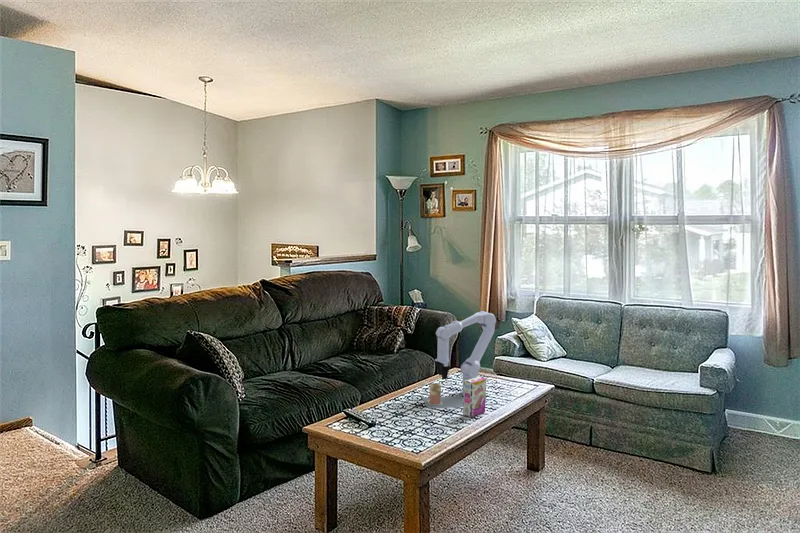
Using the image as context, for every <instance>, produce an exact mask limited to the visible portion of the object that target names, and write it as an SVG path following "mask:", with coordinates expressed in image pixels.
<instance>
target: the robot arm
mask: <svg viewBox="0 0 800 533" xmlns="http://www.w3.org/2000/svg"><path fill="white" fill-rule="evenodd" d="M476 323H478V324H480V325H481V329H482V332H481V335H480V336H479V338H478V341H477V343H476V344H475V346H474V348H473V350H472V353H471V355H469V356H470V357H468V358H466V360H465V361H464V362H463V363H462V364H461V365H460V372H461V374H462V390H460V391H459V392H460V393H461V395H462V396H463V397H464V381H465V380H469V379H472V378H476V377H479V373H480V368H481V363H480V362H481V360H482V359H483V358H482V357H483V356H484V354H485V352H486V350H487V348H488V346H489V343H490V342H491V341H492V338H493V336H494V334H495V332H496V329H495V328H496V323H497V318H496V316H495V314H493V313H492V312H487V311H484V310H480V311H479V312H475V313H474V314H473V315H470V316H468V317H467V318H464V319H463V320H461V321H459V320H453V321H452V322H451V323H449V324H445V325H444V326H440V327H438V328H437V329H436V331H435V335H436V337H437V352H436V353H437V357H436V358H435V359H434V362H435V364H436V368H437V372H438V375H439V376H441V379H442V380H447V378H448V375H449V371H450V369H451V367H452V366H451V365H449V361H450V359H449V357H450V356H449V353H450V351H449V350H450V349H449V348H450V347H449V346H450V342H449V341H450V338H451V336H453V335H456V334H458V333H460V332H462V331H463V329H464V328H465V327H468V326H471V325H473V324H476Z"/></svg>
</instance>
